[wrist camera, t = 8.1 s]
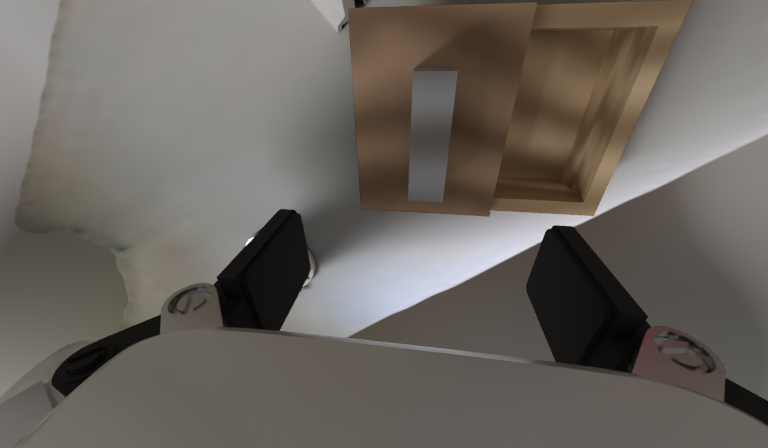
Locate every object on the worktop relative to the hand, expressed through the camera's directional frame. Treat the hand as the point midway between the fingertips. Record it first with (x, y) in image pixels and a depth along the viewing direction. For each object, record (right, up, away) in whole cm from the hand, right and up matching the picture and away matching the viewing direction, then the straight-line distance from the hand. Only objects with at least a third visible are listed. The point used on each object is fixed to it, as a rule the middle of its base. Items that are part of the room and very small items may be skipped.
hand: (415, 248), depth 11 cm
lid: (+3, +10, +16) cm, 19 cm away
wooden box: (+15, +14, +20) cm, 29 cm away
